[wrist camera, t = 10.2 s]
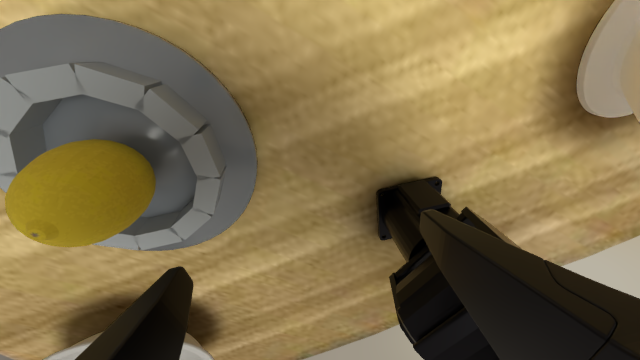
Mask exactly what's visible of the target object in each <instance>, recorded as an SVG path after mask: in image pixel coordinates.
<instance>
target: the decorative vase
mask: <svg viewBox="0 0 640 360" xmlns="http://www.w3.org/2000/svg"><path fill="white" fill-rule="evenodd" d="M577 95H578V99H579V101H580V103H581V105H582V106H583V108H584V109H585V110H586V111H588V112H589V113H591V114H594V115H597V116H602V117H608V118H615V117H622V116H626V115H630V114H633V113H634V115H635V116H636V118H637V120H638V122H639V123H640V0H615V1H614V2H613V3H612V5H611V6H610V7H609V9H608V10H607V11H606V13H605V14H604V16H603V17H602V19H601V20H600V22H599V23H598V25H597V27H596V28H595V30H594V32H593V34H592V35H591V37H590V39H589V41H588V43H587V46H586V48H585V50H584V53H583V56H582V58H581V62H580V65H579V69H578V74H577Z"/></svg>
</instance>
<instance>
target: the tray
mask: <svg viewBox="0 0 640 360" xmlns="http://www.w3.org/2000/svg"><path fill="white" fill-rule="evenodd" d="M91 139H100V140H110V141H114V142H118V143H121V144H125V145H127V146H129V147H131V148H133V149H135V150H136V151H137V152H139V153H140V154H142V155H143V156H144V157H145V158H146V160H147V161H148V162H149V163H150V165H151V167H152V168H153V171H154V174H155V178H156V186H155V193H154V195H153V198H152V200H151V202H150V204H149V206H148V208H147V209H146V210H145V212H144V213H143V214H142V215H141V216H140V217H139V218H138V219H137V220H136V221H135V222H134V223H133V224H131V225H130V226H129V227H128V228H126V229H125V230H123V231H121V232H120V233H118V234H116V235H114V236H112V237H111V238H109V239H107V240H104V241H102V242H98V243H95V244H93V245H101V246H109V247H116V248H124V249H131V250H143V251H162V250H174V249H180V248H185V247H189V246H193V245H196V244H199V243H202V242H204V241H207V240H209V239H211V238H213V237H215V236H217V235H219V234H220V233H222V232H223V231H225V230H226V229H227V228H229V227H230V226H231V225H232V224H233V223H234V222H235V221H236V220H237V219H238V218H239V217H240V215H241V214H242V213H243V212H244V210H245V208H246V207H247V205H248V203H249V201H250V199H251V196H252V193H253V191H254V186H255V181H256V176H257V153H256V146H255V142H254V138H253V134H252V132H251V129H250V127H249V124H248V122H247V119H246V117H245V116H244V114H243V112H242V110H241V108H240V107H239V105H238V103H237V102H236V101H235V99H234V98H233V96H232V95H231V94H230V92H229V91H228V90H227V89H226V87H225V86H224V85H223V84H222V83H221V82H220V81H219V80H218V78H217V77H216V76H215V75H214V74H213V73H211V72H210V71H209V70H208V69H207V68H206V67H205V66H204V65H202V64H201V63H200V62H199V61H198V60H196V59H195V58H193V57H192V56H191V55H189V54H188V53H187V52H185V51H184V50H182V49H181V48H179V47H177V46H176V45H174V44H172V43H170V42H169V41H167V40H165V39H163V38H161V37H159V36H157V35H155V34H152V33H150V32H148V31H146V30H143V29H141V28H138V27H135V26H132V25H128V24H125V23H122V22H119V21H114V20H109V19H103V18H98V17H92V16H86V15H70V14H55V15H44V16H36V17H32V18H28V19H24V20H20V21H17V22H14V23H12V24H10V25H8V26H6V27H4V28H2V29H0V188H1V189H2V190H3V191H4V192H5V193H7V190H8V188H9V186H10V184H11V182H12V180H13V179H14V178H15V176H16V175H17V174H18V173H19V172H20V171H21V170H22V169H24V168H25V167H26V166H27V165H28V164H29V163H30V162H31V161H33V160H34V159H35V158H37V157H38V156H40V155H41V154H43V153H45V152H47V151H49V150H51V149H54V148H56V147H59V146H61V145H64V144H67V143H70V142H75V141H82V140H91Z"/></svg>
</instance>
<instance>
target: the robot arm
mask: <svg viewBox="0 0 640 360" xmlns="http://www.w3.org/2000/svg"><path fill="white" fill-rule="evenodd" d="M436 182H437V183H436ZM441 187H442V180H441V179H439V178H438V177H435V178H430V179H426V180H420V181H415V182H411V183H406V184H401V185H398V186H394V187H389V188H385V189H381V190H379V191H378V192H377V216H378V236H379V238H380V239H381V240H387V239H391V238H393V240H394V242H395V243H396V245H397V247H398V248H399V250H400V252H401V253H402V255H403V257H404V258H405V260H406V262H407V263H406V264H405V265H403V266H402V267H401V268H400V269H399V270H398V271H397V272H396V273H393V274H392V275H391V276H390V277H389V278H390V283H391V288H392V293H393V298H394V303H395V308H396V313H397V317H398V321H399V323H400V327H401V329H402V330H403V331H404V333H405V335H406V336H407V338H408V339H409V340H410V342H411V343H412V344H413V348H414V349H415V351H416V352H417V353H418V354H419V355H420V356H421V357H422V358H423V359H424V360H640V299H639V298H636V297H634V296H631V295H629V294H626V293H624V292H621V291H618V290H616V289H613V288H611V287H608V286H606V285H603V284H601V283H598V282H595V281H593V280H591V279H588V278H586V277H584V276H581V275H579V274H577V273H574V272H572V271H570V270H567V269H565V268H563V267H561V266H558V265H556V264H554V263H552V262H549V261H547V260H543V259H542V258H540V257H538V256H536V255H534V254H531V253H529V252H527V251H525V250H522V249H521V248H520V247H519V246H517V245H516V244H515V243H514V242H512V241H511V240H510V239H509V238H508V237H506V236H505V235H504V234H503V233H501V232H500V231H499V230H498V229H496V228H495V227H494V226H492V225H491V224H490V223H488V222H487V221H485V220H484V219H483V218H481V217H480V216H479V215H477V214H476V213H474V212H473V211H472V210H470V209H469V208H468V207H465V208H464V209H463V210H462V211H461V212H462V213H461V214H460V215H459V214H458V213H457V212H456V211H455V210H454V209H453V208H452V207H451V204H450V203H449V202H448V201H447V200H446V199H445V198H444V197H443V196H442V195H441ZM381 194H383V195H382V196H381ZM383 235H384V236H383ZM192 292H193V281H192V279H191V277H190V276H189V275H188V273H187V272H186V270H185V269H184V268H183V267H175V268H171V269H169V270H168V271H166V272H165V273H164V274H163V275H162V276H161V277H160V278H159V279H158V280H157V281H156V282H155V283H154V284H153V285H152V286H151V287H150V288H149V289H148V290H147V291H146V292H145V293H144V294H142V295H141V296H140V297H139V298H138V299H137V300H136V301H135V302H134V303H133V304H132V305H131V306H130V307H129V308H128V309H127V310H126V311H125V312H124V313H123V314H122V315H121V316H119V317H118V318H117V319H116V320H115V321H114V322H113V323H112V324H111V325H110V326H109V327H108V328H107V329H106V330H105V331H104V332H103V333H102V334H101V335H100V336H99V337H98V338H96V339H95V340H94V341H93V342H92V343H91V344H90V345H89V346H88V347H87V348H86V349H85V350H84V351H83V352H82V353H81V354H80V355H79V356H78V357H77V358H76V359H75V360H179V359H180V355H181V351H182V347H183V343H184V339H185V335H186V331H187V325H188V319H189V312H190V306H191V299H192Z"/></svg>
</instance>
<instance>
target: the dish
mask: <svg viewBox="0 0 640 360" xmlns="http://www.w3.org/2000/svg"><path fill="white" fill-rule="evenodd" d="M103 332H104V331H103ZM103 332H101V333H98V334H96V335H93V336H91V337H89V338H86V339H84V340H82V341H80V342H78V343H76V344H74V345H72V346H71V347H69V348H66V349H63V350H60V351H58V352H56V353H54V354H52V355H49V356H48V357H46V358H44V359H43V360H75V359H76V358H77V357H78V356H79V355H80V354H81V353H82V352H83V351H84V350H85V349H86V348H87V347H88V346H89V345H90V344H91V343H92V342H93V341H94V340H95V339H96V338H98V337H99V336H100V335H101V334H102V333H103ZM179 360H214V358H213V357H212V356H211V355H210V353H208V352H207V351H206V350H204V349H203V348H202V346H201V345H200V344H199V343H198V342H197V341H196V340H195V338H193V337H192V336H191V335H190V334H188V333H186V335H185V339H184V343H183V347H182V351H181V355H180V359H179Z"/></svg>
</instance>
